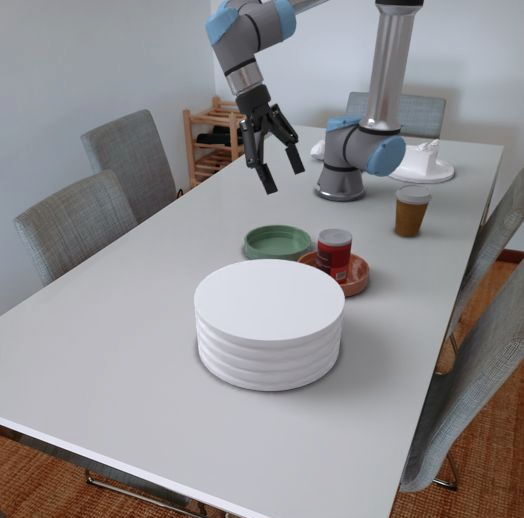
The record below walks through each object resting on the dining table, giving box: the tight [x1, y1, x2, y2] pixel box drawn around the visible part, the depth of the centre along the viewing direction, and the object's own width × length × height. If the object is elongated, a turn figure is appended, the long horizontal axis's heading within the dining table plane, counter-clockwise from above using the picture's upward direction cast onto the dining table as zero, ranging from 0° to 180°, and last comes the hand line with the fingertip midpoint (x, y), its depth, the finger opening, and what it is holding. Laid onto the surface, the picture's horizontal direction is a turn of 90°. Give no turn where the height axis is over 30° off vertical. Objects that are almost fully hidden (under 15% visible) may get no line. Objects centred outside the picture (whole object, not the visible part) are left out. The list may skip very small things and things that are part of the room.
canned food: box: [316, 228, 353, 284], centre depth 118 cm, size 8×8×11 cm
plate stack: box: [193, 259, 346, 392], centre depth 98 cm, size 28×28×12 cm
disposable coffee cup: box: [394, 183, 433, 238], centre depth 138 cm, size 10×10×12 cm
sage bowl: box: [243, 224, 312, 262], centre depth 132 cm, size 17×17×3 cm
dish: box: [388, 138, 455, 184], centre depth 178 cm, size 25×25×11 cm
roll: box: [309, 139, 325, 161], centre depth 188 cm, size 6×12×6 cm, turn 159°
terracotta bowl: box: [297, 250, 371, 298], centre depth 121 cm, size 17×17×3 cm
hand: (287, 182), depth 120 cm, fingers open, 13 cm apart
